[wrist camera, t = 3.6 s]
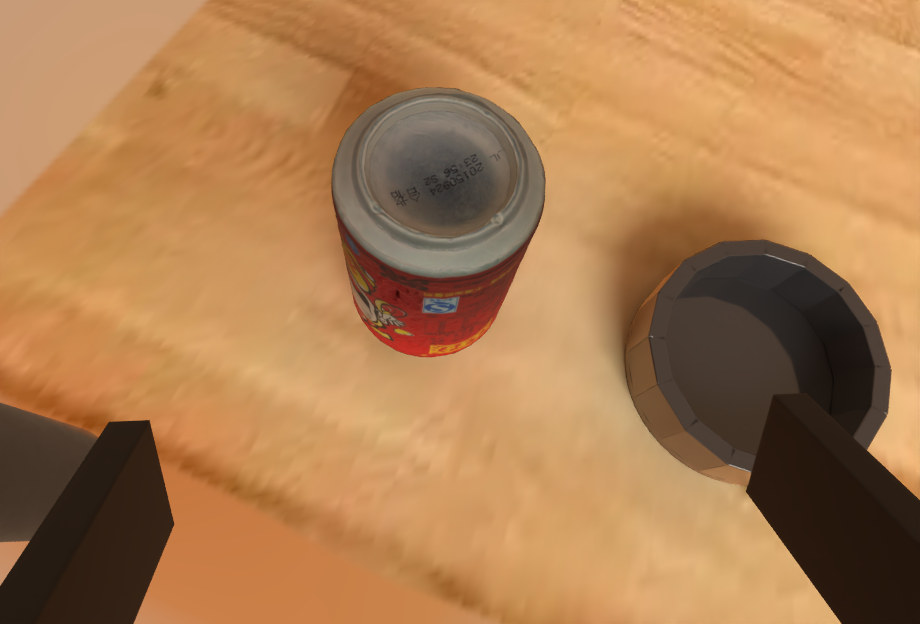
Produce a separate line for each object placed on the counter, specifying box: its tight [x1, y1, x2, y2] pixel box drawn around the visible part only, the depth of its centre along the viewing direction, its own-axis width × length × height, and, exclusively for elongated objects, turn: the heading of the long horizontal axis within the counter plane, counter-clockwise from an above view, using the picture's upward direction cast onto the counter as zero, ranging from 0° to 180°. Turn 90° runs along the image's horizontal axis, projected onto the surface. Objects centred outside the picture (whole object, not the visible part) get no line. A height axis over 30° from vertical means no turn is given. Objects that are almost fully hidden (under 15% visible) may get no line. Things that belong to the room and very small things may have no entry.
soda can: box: [332, 87, 545, 357], centre depth 26 cm, size 7×7×12 cm
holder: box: [625, 240, 892, 486], centre depth 30 cm, size 11×11×4 cm
